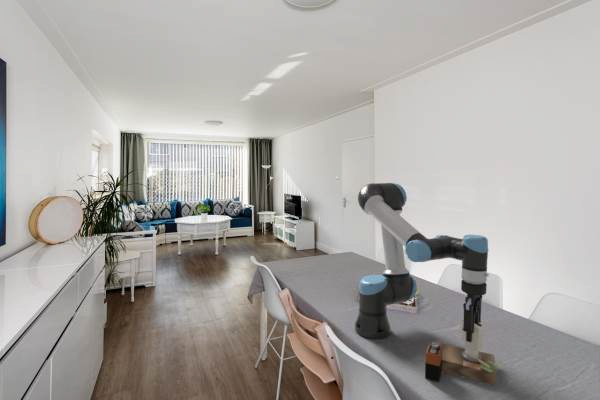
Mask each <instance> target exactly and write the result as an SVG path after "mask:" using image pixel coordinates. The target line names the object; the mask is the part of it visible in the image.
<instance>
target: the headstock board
mask: <svg viewBox="0 0 600 400" xmlns="http://www.w3.org/2000/svg"><path fill="white" fill-rule="evenodd" d="M433 343H435V344H437V345H438V346H440V347H442V372H444V373H448V374H452V375H455V376H459V377H464V378H466V379H471V380H475V381H478V382H482V383H486V384H490V385H494V386H497V374H498V372H497V370H498V369H499V368H501V365H499V364H496V360H495V358H496V357H495V354H491V353H487V352H483V351H479V353H478V354H479V355H480V356H481V357H482V361H483V362H484V363H486V364H488V365H489V366H490V368H487V367H485V366H484V365H482V364H481V363H473V362H469V361H467V360H465V359H464V358H463V357H462V352H464V351H465V347H461V346H455V345H451V344H448V343H447V344H446V343H442V342H437V341H432V343H431V344H433Z"/></svg>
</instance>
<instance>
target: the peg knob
mask: <svg viewBox="0 0 600 400" xmlns="http://www.w3.org/2000/svg"><path fill="white" fill-rule="evenodd" d="M461 321H462V322H461V323H462V324H461V327H462V328H461V340H462V341H464V342H465V331H463V323H464V319H462V320H461ZM484 331H485V330H484V327H482V326H481V327H480V326H479V325H477V324H475V323H474V332H475V339H474V352H473V351H470V350H467V349H465V351H464V352H462V357H463V358H464V359H465V360H467V361H469V362H473V363H481V364H482V365H484V366H485V367H487V368H490V366H489V365H488V364H486V363H484V362H483V361H482V357H481V356H480V355H479V354H478V353H479V352H480V350H481V349H483V348H484Z"/></svg>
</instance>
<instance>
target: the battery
mask: <svg viewBox="0 0 600 400" xmlns="http://www.w3.org/2000/svg"><path fill="white" fill-rule="evenodd" d="M432 343H433V342H432ZM432 343H430V344H428V345H427V348H426V351H425V359H424V360H425V362H424V363H425V366H424V369H425V370H424V374H425V375H424V378H425V379H426V380H429V381H432V382H435V383H439V382H440V379H441V377H442V372H443V371H442V347H440V346H438V345H437V344H435V343H433V344H432Z"/></svg>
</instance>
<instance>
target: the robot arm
mask: <svg viewBox="0 0 600 400" xmlns="http://www.w3.org/2000/svg"><path fill="white" fill-rule="evenodd" d="M407 199H408V197H407V192H406V191H405V189H404V187H403V186H401V184H399V183H396V182H395V183H394V182H384V183H383V182H382V183H381V182H380V183H377V182H376V183H375V182H374V183H367V184H365V185H364V186H363V187H362V188H360V190H359V192H358V195H357V202H358V205H359V207H360V208H361V210H362V211H363V212H364V213H365V214H367V215H368V216H372V217H373V218H374V219H375V220H376V221H378V223H379V224H380V228H381V234H382V235H381V237H382V246H383V255H384V264H385V269H384V270H383V272H382V275H381V274H368V275H365V276H363V277H361V279H360V281H359V286H358V292H359V293H358V295H359V296H358V298H359V299H358V301H359V302H358V304H359V305H358V314H357V316H356V317H357V318H356V320H355V323H354V331H355V332H356V334H358V335H359V336H362V337H364V338H367V339H373V340H377V339H379V340H380V339H381V340H382V339H384V338H387V337H389V336H390V335H391V331H392V330H391V323H390V322H389V318H388V314H387V308H388V307H387V306H390V305H391V306H392V305H396V304H399V303H406V302H407V301H411V300H413V298H414V297H415V296H416V294H417V289H418V287H417V282H416V280H415V277H413V275H412V274H410V270H408V269H407V267H406V261H405V254H406V255H407V259H408V260H409V261H411V262H412V263H425V262H429V261H435V260H442V259H443V260H444V259H454V260H457V261H461V281H460V282H461V287H460V288H461V289H460V290H461V291H462V292H463V293H465V294H466V297H465V300H464V302H463V306H462V307H463V320H464V323H463V331H465V341H464V348H465V349H467V350H470V351H473V352H474V339H475V332H474V323H475V324H477V325H479V326H480V327H482V323H481V321H482V318H481V317H482V300H483V296H484V295H486V294H487V285H488V284H487V283H486V282H487V281H488V280H487V279H488V277H489V276H490V275H489V273H488V256H489V243H488V242H489V241H488V238H487V237H486V236H484V235H479V234H477V235H476V234H465V235H464V236H463V237H462V238H458V237H453V236H450V235H447V234H445V235H444V234H443V235H442V234H438V235H436V236H435V237H434V238H427V237H426V236H425V235H424V234H422V233H421V232H420V231H419V230H418V229H417V228H416V227H414V226H412V224H411V223H409V222H408V221H407V220H406V218H403V217H402V216H401V214H402V212H403V207H404V206H405V205H406V202H407ZM404 247H405V248H404ZM404 249H405V250H404ZM404 252H405V254H404Z"/></svg>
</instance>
